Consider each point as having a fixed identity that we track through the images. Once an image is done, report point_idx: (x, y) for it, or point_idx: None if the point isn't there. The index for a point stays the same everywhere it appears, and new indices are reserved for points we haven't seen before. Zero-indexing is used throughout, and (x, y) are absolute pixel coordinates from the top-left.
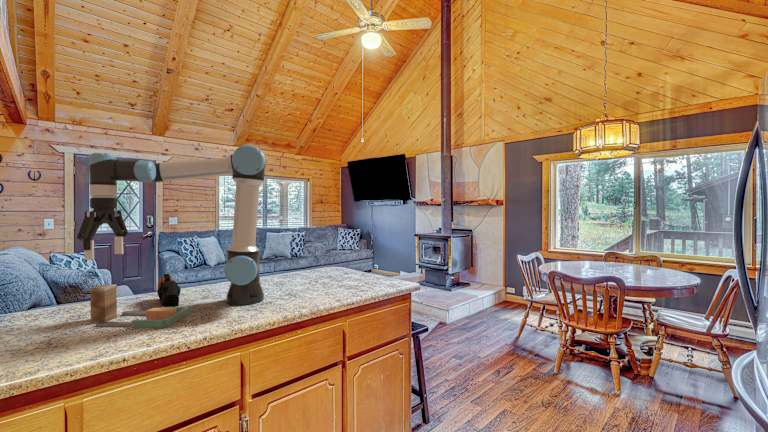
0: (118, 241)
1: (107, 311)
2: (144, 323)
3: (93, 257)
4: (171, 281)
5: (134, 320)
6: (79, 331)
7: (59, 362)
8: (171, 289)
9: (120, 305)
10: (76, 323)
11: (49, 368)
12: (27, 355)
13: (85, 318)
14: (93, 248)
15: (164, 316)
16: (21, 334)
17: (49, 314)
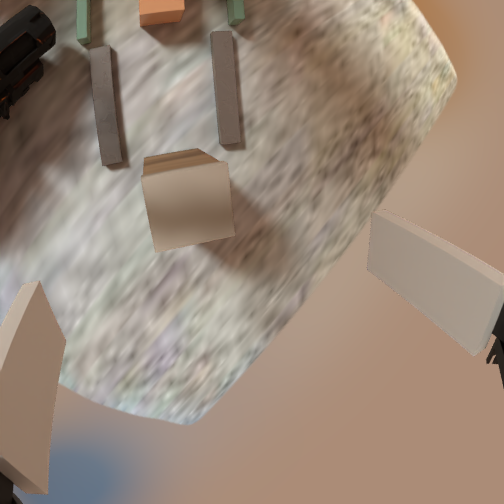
0: (23, 409)
1: (191, 153)
2: None
3: (389, 216)
4: None
5: (243, 13)
6: (279, 152)
7: (417, 54)
8: (9, 33)
9: (37, 272)
10: None
11: (432, 55)
12: (400, 136)
13: None
14: (442, 247)
15: None
16: (304, 273)
17: (167, 367)
